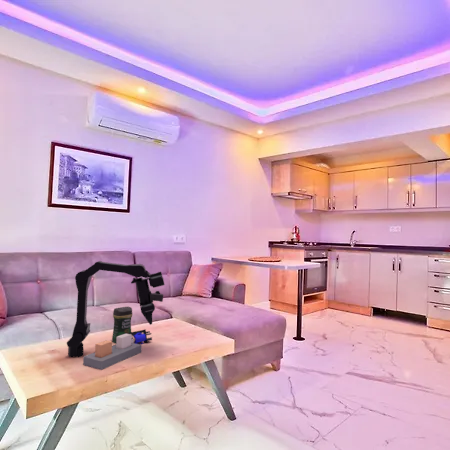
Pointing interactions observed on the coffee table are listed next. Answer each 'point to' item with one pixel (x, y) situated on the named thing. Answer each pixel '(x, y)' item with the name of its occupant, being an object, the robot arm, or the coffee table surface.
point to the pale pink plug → (123, 341)
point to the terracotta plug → (103, 349)
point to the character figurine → (140, 336)
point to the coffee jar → (121, 321)
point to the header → (112, 356)
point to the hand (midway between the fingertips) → (150, 322)
